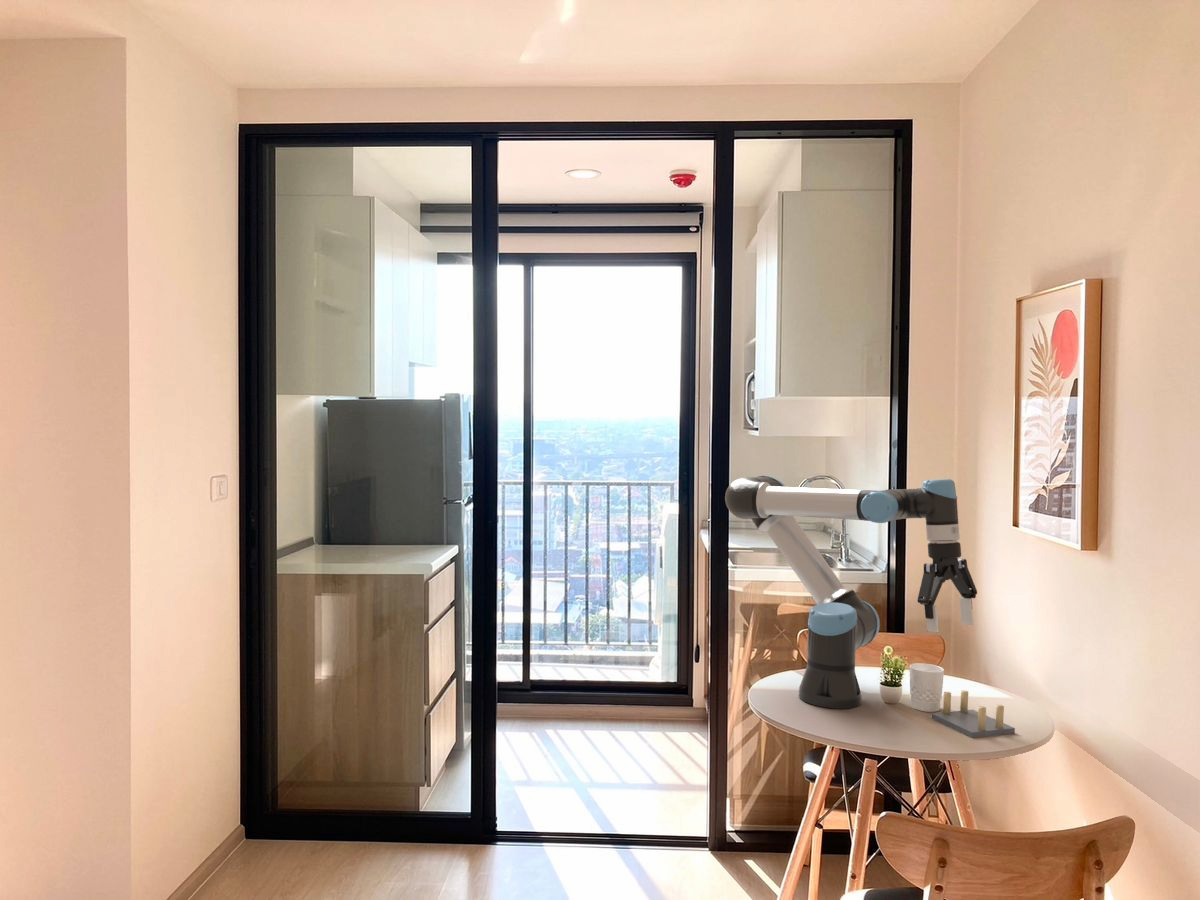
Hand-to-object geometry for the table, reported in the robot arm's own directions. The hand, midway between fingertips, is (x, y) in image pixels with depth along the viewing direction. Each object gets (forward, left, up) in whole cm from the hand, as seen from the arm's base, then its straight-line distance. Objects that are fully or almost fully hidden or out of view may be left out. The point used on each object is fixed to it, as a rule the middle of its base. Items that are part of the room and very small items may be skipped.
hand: (950, 628), depth 204 cm
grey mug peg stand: (-3, -12, -20) cm, 23 cm away
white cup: (-5, +2, -20) cm, 21 cm away
